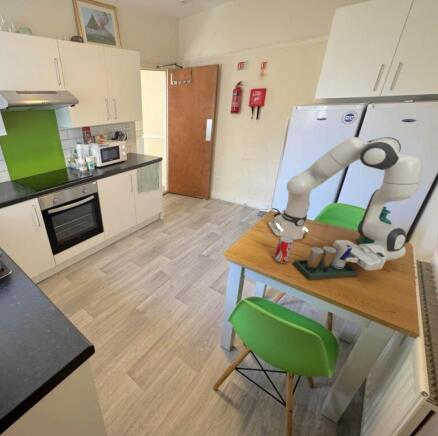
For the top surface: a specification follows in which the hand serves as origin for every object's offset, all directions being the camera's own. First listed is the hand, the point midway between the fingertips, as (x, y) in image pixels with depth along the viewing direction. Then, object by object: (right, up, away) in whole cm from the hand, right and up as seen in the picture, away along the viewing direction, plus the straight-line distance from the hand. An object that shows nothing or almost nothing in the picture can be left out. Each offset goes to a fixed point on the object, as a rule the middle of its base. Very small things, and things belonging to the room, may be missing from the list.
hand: (339, 255), depth 114 cm
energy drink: (+1, -6, +3) cm, 7 cm away
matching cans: (-9, -8, +3) cm, 12 cm away
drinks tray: (-5, -8, +4) cm, 10 cm away
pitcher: (+34, +3, +22) cm, 40 cm away
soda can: (-22, -4, +12) cm, 25 cm away
